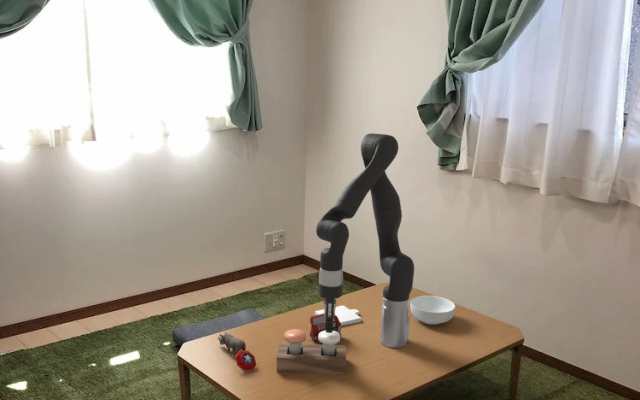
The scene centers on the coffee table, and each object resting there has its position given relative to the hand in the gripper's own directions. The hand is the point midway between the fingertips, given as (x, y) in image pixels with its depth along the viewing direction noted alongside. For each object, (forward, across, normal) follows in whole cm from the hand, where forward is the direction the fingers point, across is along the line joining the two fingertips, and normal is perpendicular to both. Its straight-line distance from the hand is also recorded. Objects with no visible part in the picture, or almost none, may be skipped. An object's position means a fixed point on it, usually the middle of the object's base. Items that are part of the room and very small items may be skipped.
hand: (329, 331), depth 199 cm
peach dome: (+8, 0, +11) cm, 13 cm away
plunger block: (+12, 0, +5) cm, 13 cm away
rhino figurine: (+13, +8, +33) cm, 36 cm away
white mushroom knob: (+8, 0, 0) cm, 8 cm away
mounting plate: (+13, +37, -3) cm, 39 cm away
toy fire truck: (+12, +18, +1) cm, 22 cm away
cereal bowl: (+12, +38, -39) cm, 56 cm away
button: (+13, -3, +26) cm, 30 cm away
